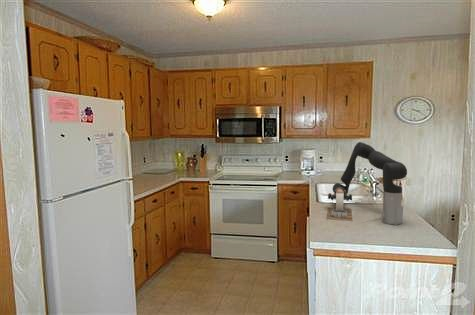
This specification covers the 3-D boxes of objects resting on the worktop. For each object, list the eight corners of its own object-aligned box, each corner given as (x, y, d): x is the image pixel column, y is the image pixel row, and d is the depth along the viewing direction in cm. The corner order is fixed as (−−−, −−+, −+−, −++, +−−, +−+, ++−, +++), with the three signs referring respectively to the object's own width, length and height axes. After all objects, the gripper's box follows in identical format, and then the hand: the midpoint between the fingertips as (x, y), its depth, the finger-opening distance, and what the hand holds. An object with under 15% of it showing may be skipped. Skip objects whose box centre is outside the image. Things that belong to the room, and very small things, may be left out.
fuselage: (344, 212, 195) (345, 189, 193) (339, 213, 192) (340, 190, 191) (339, 211, 198) (339, 188, 197) (334, 212, 196) (334, 189, 195)
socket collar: (332, 213, 192) (332, 208, 192) (346, 214, 190) (347, 209, 189) (331, 217, 184) (331, 212, 184) (347, 218, 182) (347, 213, 181)
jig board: (328, 210, 206) (328, 208, 206) (351, 211, 201) (351, 209, 201) (326, 221, 181) (326, 219, 181) (352, 223, 177) (352, 221, 177)
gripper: (328, 187, 212) (327, 192, 197) (351, 188, 208) (352, 193, 193) (328, 199, 213) (327, 204, 198) (351, 200, 209) (352, 206, 193)
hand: (339, 199), depth 195 cm, fingers open, 8 cm apart
